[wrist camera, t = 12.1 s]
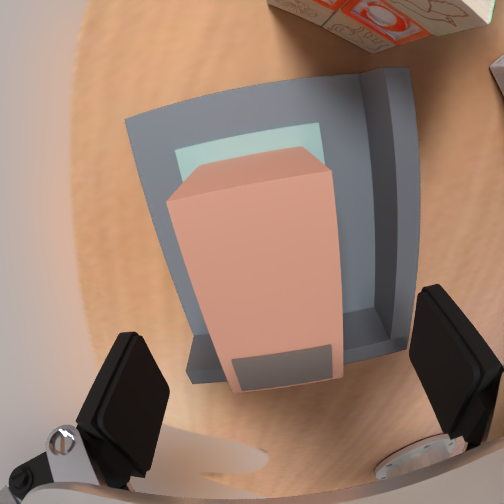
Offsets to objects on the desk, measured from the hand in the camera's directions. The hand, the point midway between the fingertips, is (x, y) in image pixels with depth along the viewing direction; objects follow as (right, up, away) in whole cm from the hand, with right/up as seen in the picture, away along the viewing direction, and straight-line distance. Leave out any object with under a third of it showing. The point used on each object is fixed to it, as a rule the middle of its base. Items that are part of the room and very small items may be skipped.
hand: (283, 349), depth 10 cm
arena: (0, +5, +7) cm, 8 cm away
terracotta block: (0, +4, +7) cm, 8 cm away
